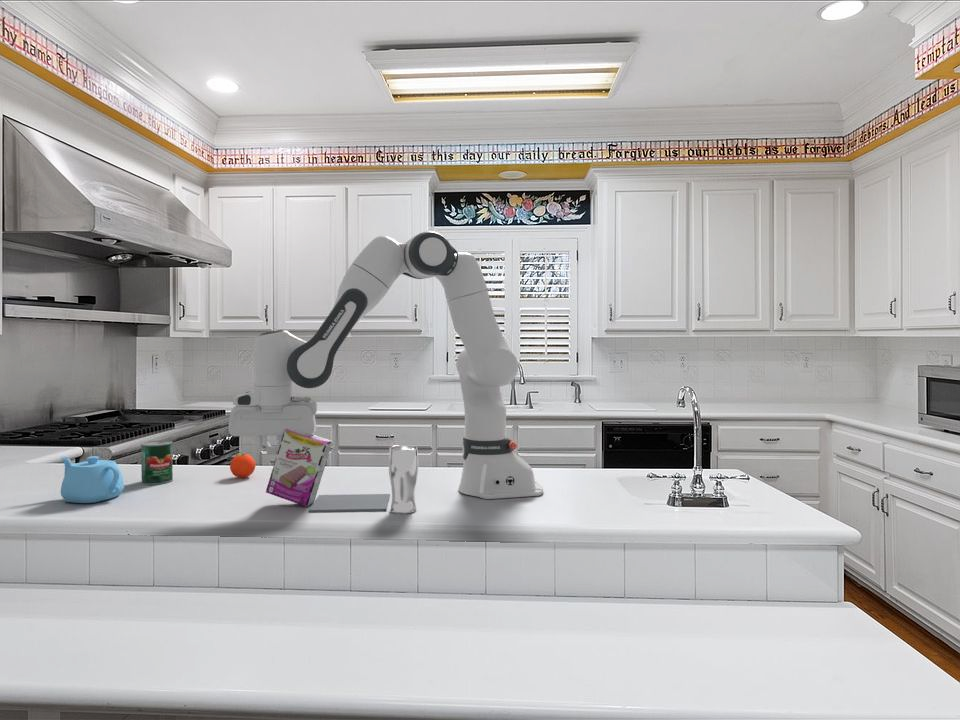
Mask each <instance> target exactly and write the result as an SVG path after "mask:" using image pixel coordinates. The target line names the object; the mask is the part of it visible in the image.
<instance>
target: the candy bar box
mask: <svg viewBox="0 0 960 720" xmlns="http://www.w3.org/2000/svg"><path fill="white" fill-rule="evenodd" d="M332 445H333V440H331V439H328V438H325V437H323V436H319V435H316V434H315V433H314V434H312V435H310V436H309V435H305V434H301V433H298V432H294V431H291V430H287V429H285V430H284V433H283V436H282V440H281V443H280V446H279V450H278V453H277V454H276V457H275V460H274V463H273V467H272V470H271V473H270V477H269V480H268V482H267V486H266V488H265V489H266V490H265V493H266V494H269V495H272V496H275V497H277V498H280V499H282V500H283V499H284V500H286V501H288V502H292V503H295V504H297V505H300V506H303V507H305V508H308V507H309V506H310V505H312V504H313V503H314V502H315V500H316V499H317V495H318V490H319V488H320V484H321V481H322V477H323V474H324V471H325V468H326V464H327V461H328V458H329V454H330V452H331V448H332Z"/></svg>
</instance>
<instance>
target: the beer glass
mask: <svg viewBox="0 0 960 720" xmlns="http://www.w3.org/2000/svg"><path fill="white" fill-rule="evenodd" d="M388 451H389V453H388V475H389V476H388V477H389V482H390V483H389V484H390V487H391V505H390V512H391V513H393V514H397V515H405V514H406V515H407V514H412V513H415V512H416V511H417V504H416V497H415V495H416V494H415V493H416V488H417V487H416V486H417V482H418V481H417V480H418V474H419V454H418V453H419V452H418V446H416V445H407V444H403V445H402V444H400V445H399V444H398V445H392V446H390V447H389V450H388Z"/></svg>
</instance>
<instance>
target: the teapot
mask: <svg viewBox="0 0 960 720" xmlns="http://www.w3.org/2000/svg"><path fill="white" fill-rule="evenodd" d="M60 459H61V460H62V461H63V463H64V474H63V475H64V476H63V479H62V483H61V486H60V496H61V497H62V499H63V500H64V501H65V502H68V503H73V504H74V503H76V504H95V503H98V502H102V501H106V500H111V499H113V498H116V497H118V496H120V495H121V494H122V493H123V491H124V489H125V481H124V476H123V474H122V472H121V468H120V467H119V465H118V464H117V462H116V461H115V460H107V459H100V457H99V456H96V455H94V456H93V455H92V456H87V457H86V461H82V462H77V463H72V461H71V459H70V458H68V457H66V456H60Z"/></svg>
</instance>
